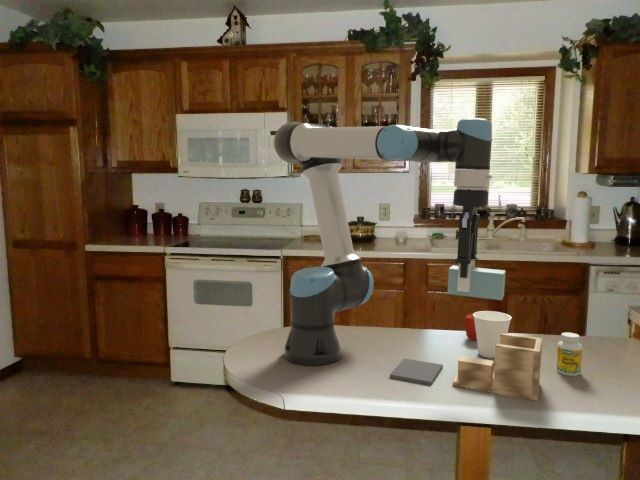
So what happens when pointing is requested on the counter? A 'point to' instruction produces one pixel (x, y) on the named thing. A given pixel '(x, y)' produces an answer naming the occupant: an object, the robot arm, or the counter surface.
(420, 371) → the mat
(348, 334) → the counter surface
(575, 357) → the supplement bottle
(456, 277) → the bar
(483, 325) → the cup
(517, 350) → the cradle
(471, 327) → the apple
